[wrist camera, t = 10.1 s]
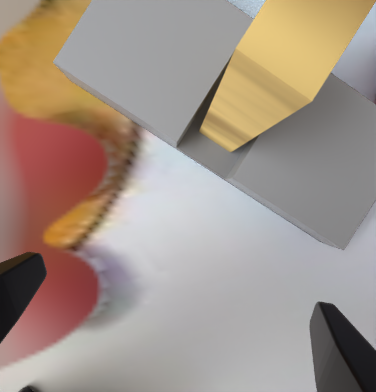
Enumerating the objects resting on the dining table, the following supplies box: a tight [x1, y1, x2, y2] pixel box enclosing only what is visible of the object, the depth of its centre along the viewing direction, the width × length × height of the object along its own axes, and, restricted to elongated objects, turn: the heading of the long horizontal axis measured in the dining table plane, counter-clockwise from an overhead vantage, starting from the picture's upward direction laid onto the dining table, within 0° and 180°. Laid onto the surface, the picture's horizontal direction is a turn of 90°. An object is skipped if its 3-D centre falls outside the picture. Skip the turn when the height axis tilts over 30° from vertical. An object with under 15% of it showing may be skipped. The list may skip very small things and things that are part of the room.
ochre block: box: [199, 0, 376, 152], centre depth 14 cm, size 6×3×12 cm, turn 147°
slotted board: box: [53, 0, 376, 250], centre depth 19 cm, size 10×24×3 cm, turn 58°
